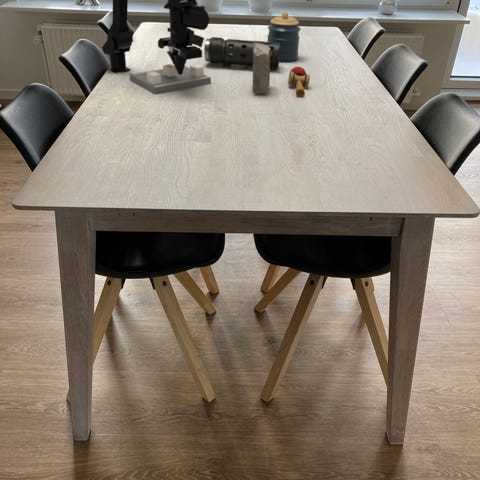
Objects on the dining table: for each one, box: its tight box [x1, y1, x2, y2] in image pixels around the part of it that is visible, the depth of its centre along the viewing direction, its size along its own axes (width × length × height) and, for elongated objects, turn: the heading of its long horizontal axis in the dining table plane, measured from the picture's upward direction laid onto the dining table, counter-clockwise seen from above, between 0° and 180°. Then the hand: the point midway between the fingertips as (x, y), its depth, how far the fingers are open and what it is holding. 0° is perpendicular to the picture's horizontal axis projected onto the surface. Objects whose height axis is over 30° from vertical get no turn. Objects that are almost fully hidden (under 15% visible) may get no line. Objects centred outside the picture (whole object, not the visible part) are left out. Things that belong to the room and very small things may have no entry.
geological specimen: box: [252, 42, 272, 94], centre depth 173 cm, size 11×6×15 cm, turn 173°
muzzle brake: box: [203, 36, 281, 71], centre depth 197 cm, size 10×28×10 cm, turn 82°
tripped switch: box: [162, 63, 177, 77], centre depth 180 cm, size 4×3×3 cm
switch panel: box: [129, 64, 212, 95], centre depth 181 cm, size 18×22×5 cm
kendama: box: [287, 66, 311, 98], centre depth 179 cm, size 8×6×18 cm
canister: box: [266, 11, 301, 63], centre depth 208 cm, size 13×13×18 cm
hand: (180, 74), depth 175 cm, fingers closed
